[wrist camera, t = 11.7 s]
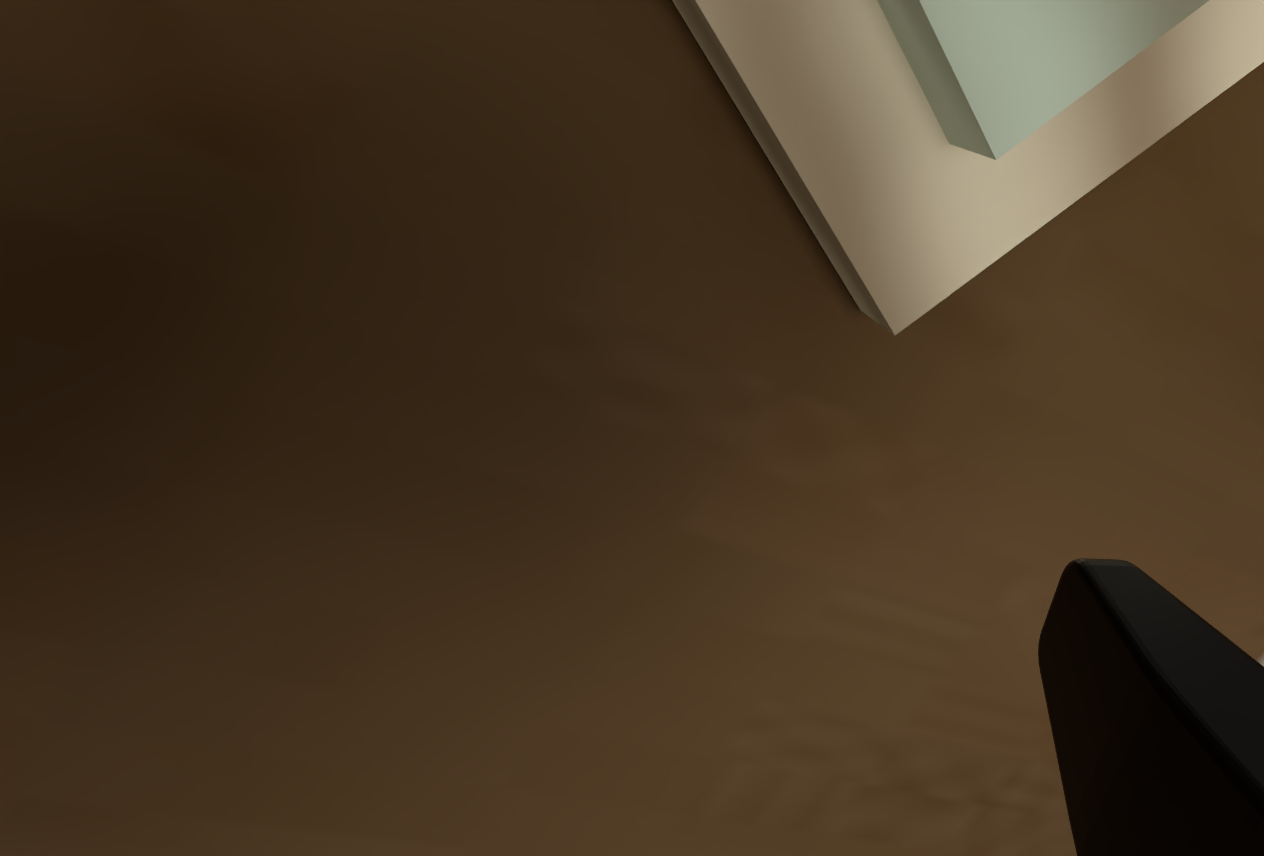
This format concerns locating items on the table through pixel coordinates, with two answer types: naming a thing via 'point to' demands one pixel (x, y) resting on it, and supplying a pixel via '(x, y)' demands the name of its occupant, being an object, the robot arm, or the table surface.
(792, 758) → the table surface
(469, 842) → the table surface
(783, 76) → the plinth
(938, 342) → the table surface
